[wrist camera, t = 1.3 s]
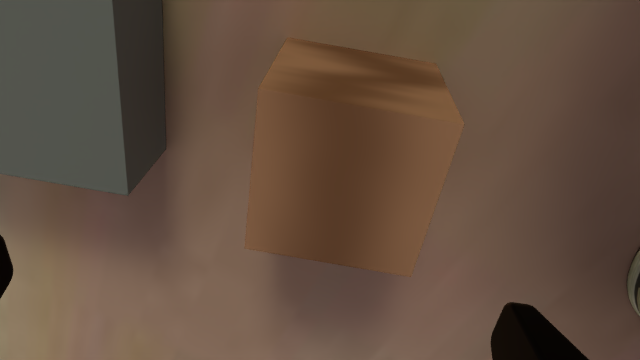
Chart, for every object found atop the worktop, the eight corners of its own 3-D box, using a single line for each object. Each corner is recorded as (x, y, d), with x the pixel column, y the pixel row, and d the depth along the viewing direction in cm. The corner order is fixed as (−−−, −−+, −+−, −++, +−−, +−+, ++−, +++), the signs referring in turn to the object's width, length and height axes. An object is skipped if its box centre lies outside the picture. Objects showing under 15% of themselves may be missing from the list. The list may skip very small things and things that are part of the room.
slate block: (159, -103, 16) (103, -106, 12) (166, 148, 21) (128, 195, 18) (-127, -154, 16) (-263, -171, 12) (-49, 111, 21) (-129, 151, 17)
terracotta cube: (435, 63, 18) (464, 124, 13) (399, 187, 21) (411, 277, 16) (287, 37, 18) (258, 88, 13) (272, 166, 21) (244, 248, 16)
